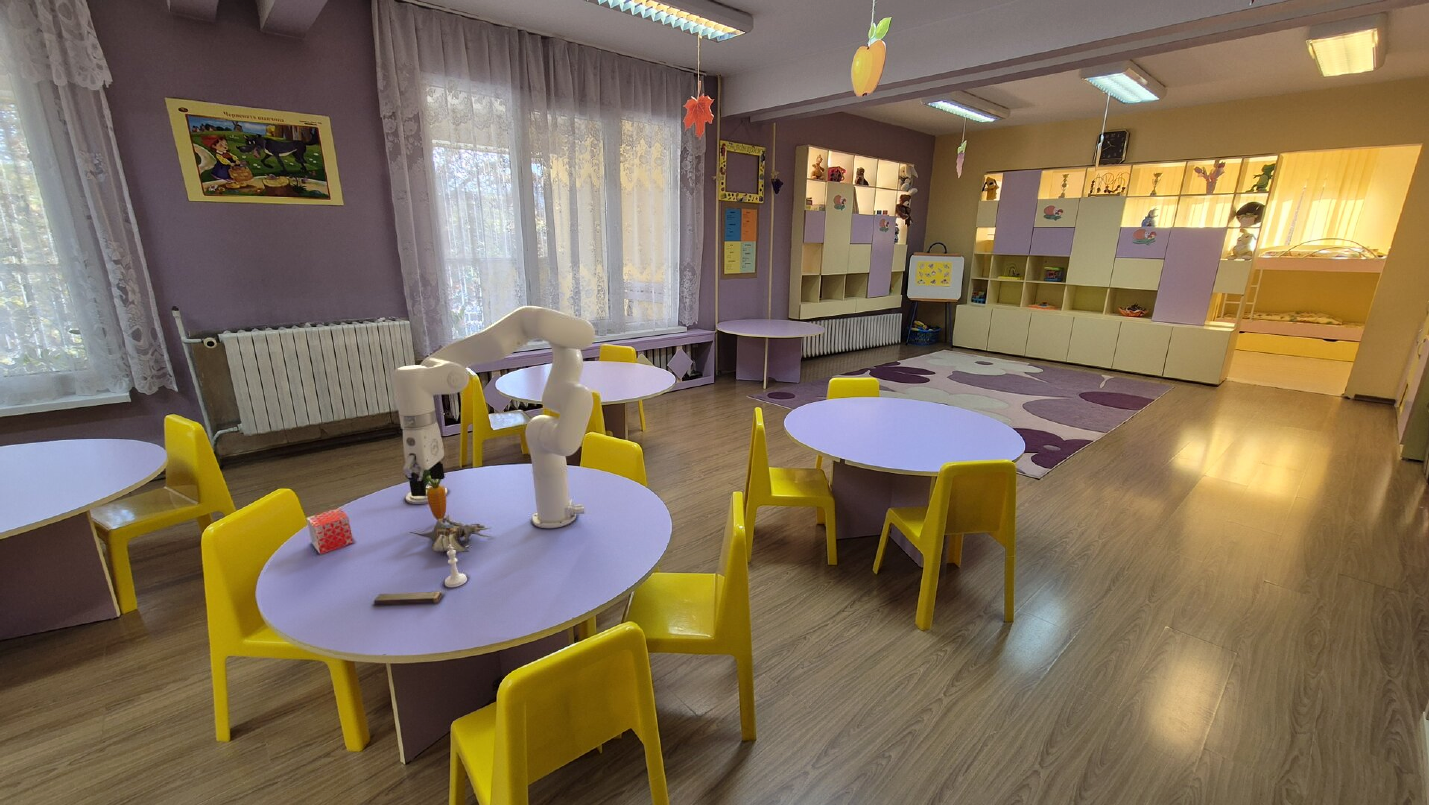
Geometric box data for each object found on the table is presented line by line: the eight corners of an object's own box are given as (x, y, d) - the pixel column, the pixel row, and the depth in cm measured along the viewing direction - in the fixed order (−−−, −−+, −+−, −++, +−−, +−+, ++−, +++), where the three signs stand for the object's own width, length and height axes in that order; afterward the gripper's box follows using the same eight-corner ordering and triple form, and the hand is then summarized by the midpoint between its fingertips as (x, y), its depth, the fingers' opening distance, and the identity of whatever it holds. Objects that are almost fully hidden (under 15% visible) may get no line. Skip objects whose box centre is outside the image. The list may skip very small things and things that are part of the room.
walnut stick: (442, 595, 132) (441, 591, 132) (437, 602, 130) (436, 597, 129) (380, 598, 131) (379, 593, 131) (374, 605, 129) (373, 600, 129)
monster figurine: (455, 489, 189) (451, 460, 186) (430, 505, 177) (425, 475, 174) (424, 486, 191) (419, 458, 188) (397, 502, 180) (392, 472, 177)
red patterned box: (353, 542, 156) (348, 516, 154) (320, 554, 150) (314, 527, 148) (344, 533, 161) (339, 507, 159) (312, 543, 156) (306, 517, 154)
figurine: (487, 507, 164) (495, 534, 149) (488, 526, 165) (496, 554, 151) (408, 519, 155) (409, 548, 140) (410, 539, 156) (411, 570, 142)
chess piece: (453, 589, 134) (447, 552, 132) (440, 583, 137) (434, 546, 134) (471, 579, 138) (465, 542, 136) (458, 573, 141) (453, 537, 138)
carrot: (453, 518, 169) (446, 472, 165) (444, 527, 164) (436, 479, 160) (437, 518, 169) (430, 471, 165) (428, 526, 164) (420, 478, 160)
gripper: (416, 430, 124) (427, 502, 128) (450, 408, 140) (459, 472, 145) (381, 431, 124) (394, 503, 128) (419, 408, 140) (429, 473, 145)
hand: (428, 486), depth 137 cm, fingers open, 9 cm apart
